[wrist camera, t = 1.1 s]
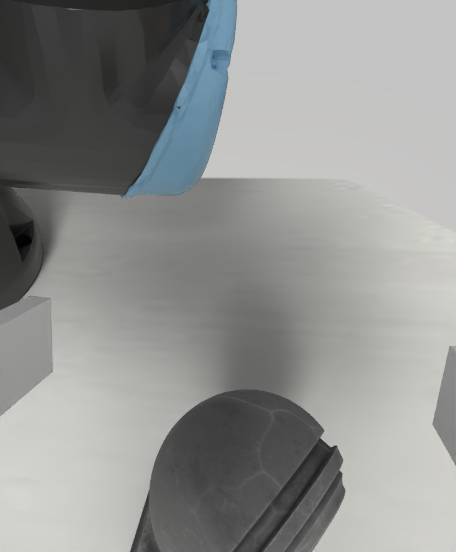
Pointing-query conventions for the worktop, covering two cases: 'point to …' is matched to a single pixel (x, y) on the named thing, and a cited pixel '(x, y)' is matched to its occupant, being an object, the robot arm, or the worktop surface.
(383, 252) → the worktop surface
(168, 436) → the figurine
